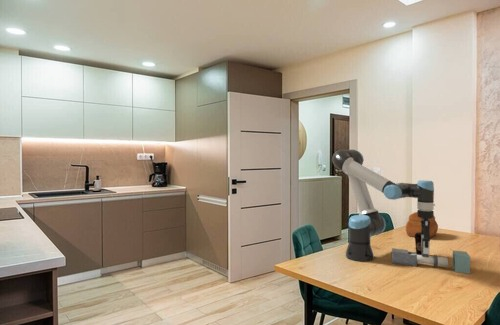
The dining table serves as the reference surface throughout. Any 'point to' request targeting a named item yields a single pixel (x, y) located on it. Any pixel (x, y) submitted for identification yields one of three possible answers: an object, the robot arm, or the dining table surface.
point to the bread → (419, 225)
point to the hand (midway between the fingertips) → (425, 250)
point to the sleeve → (404, 257)
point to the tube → (431, 259)
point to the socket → (461, 262)
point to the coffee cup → (418, 243)
